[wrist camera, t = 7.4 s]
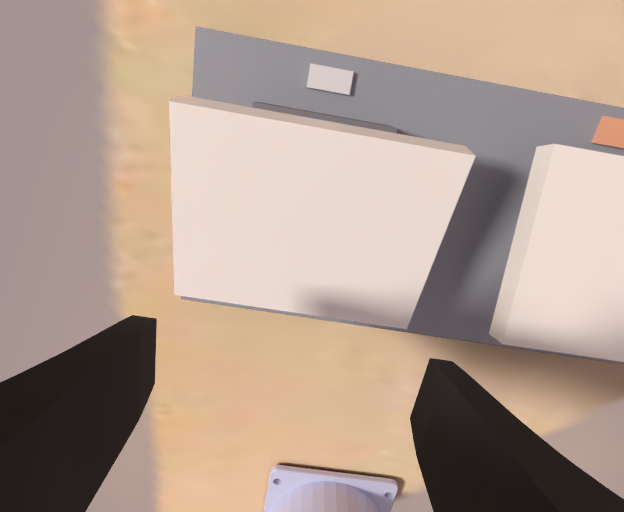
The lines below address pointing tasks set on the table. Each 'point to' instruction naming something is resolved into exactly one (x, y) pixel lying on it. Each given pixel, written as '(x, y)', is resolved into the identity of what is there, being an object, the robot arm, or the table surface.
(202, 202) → the front rocker
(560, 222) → the plate
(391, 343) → the table surface
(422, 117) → the switch console
